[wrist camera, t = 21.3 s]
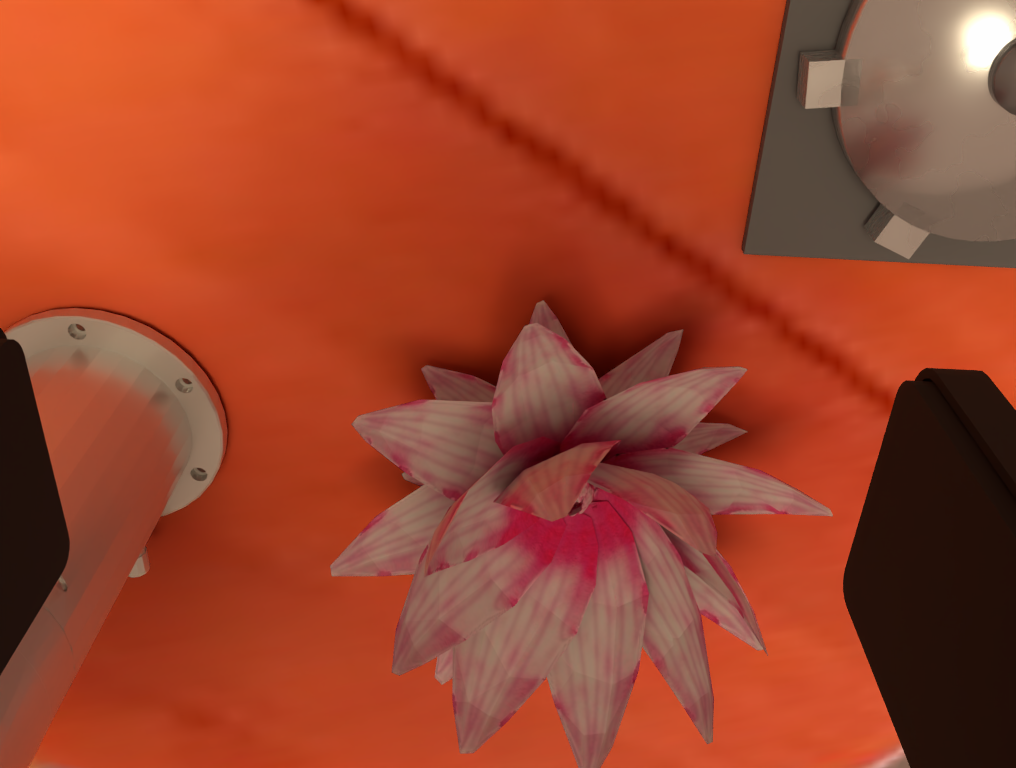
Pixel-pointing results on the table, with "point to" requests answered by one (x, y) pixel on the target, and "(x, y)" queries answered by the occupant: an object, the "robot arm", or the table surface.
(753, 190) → the sprocket base
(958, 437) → the robot arm
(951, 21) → the sprocket
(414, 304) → the table surface
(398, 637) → the decorative flower
